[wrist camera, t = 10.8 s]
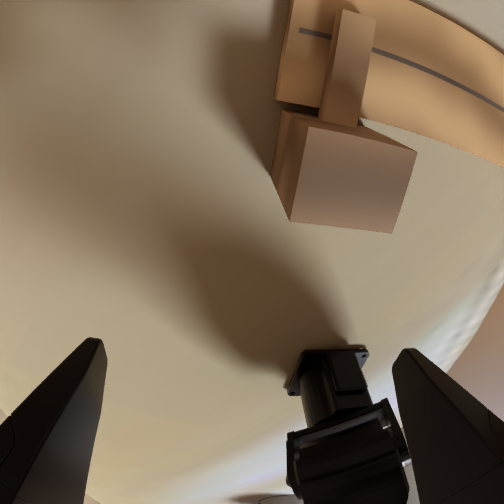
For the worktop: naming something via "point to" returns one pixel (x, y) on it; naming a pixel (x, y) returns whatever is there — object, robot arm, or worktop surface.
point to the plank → (404, 72)
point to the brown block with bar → (341, 146)
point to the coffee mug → (282, 500)
